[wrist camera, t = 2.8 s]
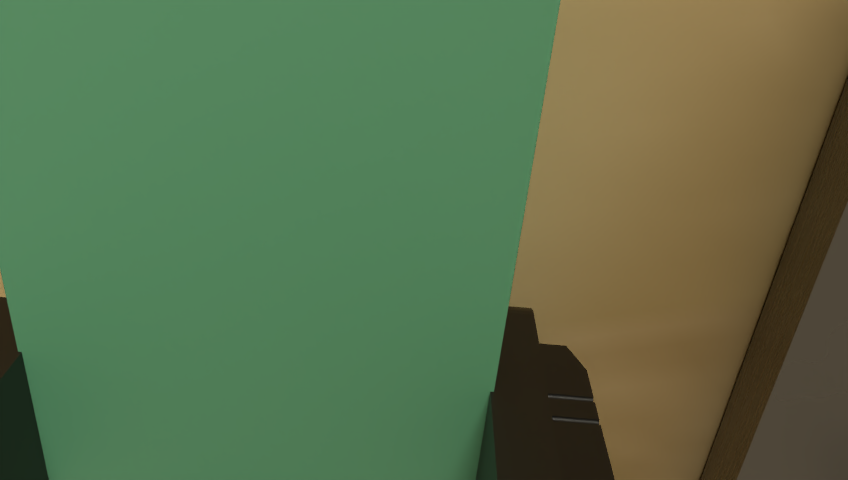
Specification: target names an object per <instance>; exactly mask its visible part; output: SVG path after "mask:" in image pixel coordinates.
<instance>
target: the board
mask: <svg viewBox="0 0 848 480" xmlns="http://www.w3.org/2000/svg"><path fill="white" fill-rule="evenodd" d="M559 6H560V0H0V270H1V275H2V280H3V284H4V289H5V293H6V298H7V303H8V307H9V312H10V317H11V321H12V326H13V330H14V335H15V340H16V344H17V349H18V352H22V356H23V360H24V365H25V370H26V374H27V379H28V384H29V388H30V393H31V398H32V403H33V407H34V412H35V417H36V421H37V426H38V431H39V435H40V440H41V445H42V449H43V454H44V459H45V463H46V468H47V473H48V478H49V480H476V474H477V468H478V462H479V456H480V450H481V444H482V438H483V432H484V426H485V420H486V414H487V408H488V402H489V396H490V392H494V388H495V382H496V376H497V371H498V365H499V359H500V353H501V347H502V341H503V335H504V329H505V323H506V318H507V312H508V306H509V300H510V294H511V288H512V282H513V276H514V270H515V265H516V259H517V253H518V247H519V241H520V235H521V229H522V223H523V218H524V212H525V206H526V200H527V194H528V188H529V182H530V176H531V170H532V165H533V159H534V153H535V147H536V141H537V135H538V129H539V123H540V117H541V112H542V106H543V100H544V94H545V88H546V82H547V76H548V70H549V64H550V59H551V53H552V47H553V41H554V35H555V29H556V23H557V17H558V11H559Z"/></svg>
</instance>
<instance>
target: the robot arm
mask: <svg viewBox="0 0 848 480" xmlns="http://www.w3.org/2000/svg"><path fill="white" fill-rule="evenodd" d="M0 480H49V478H48V473H47V468H46V463H45V459H44V454H43V449H42V445H41V440H40V435H39V431H38V426H37V421H36V417H35V412H34V407H33V403H32V398H31V393H30V388H29V384H28V379H27V374H26V370H25V365H24V360H23V356H22V352H18V349H17V344H16V340H15V335H14V330H13V326H12V321H11V317H10V312H9V307H8V303H7V298H5V297H0ZM476 480H614V476H613V472H612V468H611V464H610V460H609V456H608V452H607V448H606V445H605V441H604V437H603V433H602V429H601V425H599V417H598V413H597V409H596V405H595V403H594V402H593V394H592V390H591V386H590V382H589V378H588V374H587V370H586V369H585V368H584V367H583V365H582V364H581V363H580V362H579V361H578V359H577V358H576V357H575V356H574V355H573V353H572V352H571V351H570V350H569V349H568V348H567V346H561V345H549V344H539V341H538V335H537V330H536V324H535V319H534V313H533V310H532V309H531V308H521V307H509V306H508V312H507V318H506V323H505V329H504V335H503V341H502V347H501V353H500V359H499V365H498V371H497V376H496V382H495V388H494V392H490V396H489V402H488V408H487V414H486V420H485V426H484V432H483V438H482V444H481V450H480V456H479V462H478V468H477V474H476Z"/></svg>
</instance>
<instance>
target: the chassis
mask: <svg viewBox="0 0 848 480" xmlns="http://www.w3.org/2000/svg"><path fill="white" fill-rule="evenodd" d="M701 480H848V79H847V82H846V85H845V87H844V90H843V93H842V96H841V98H840V101H839V104H838V107H837V109H836V112H835V115H834V117H833V120H832V123H831V126H830V128H829V131H828V134H827V136H826V139H825V142H824V145H823V147H822V150H821V153H820V156H819V158H818V161H817V164H816V166H815V169H814V172H813V175H812V177H811V180H810V183H809V186H808V188H807V191H806V194H805V196H804V199H803V202H802V205H801V207H800V210H799V213H798V215H797V218H796V221H795V224H794V226H793V229H792V232H791V235H790V237H789V240H788V243H787V245H786V248H785V251H784V254H783V256H782V259H781V262H780V265H779V267H778V270H777V273H776V275H775V278H774V281H773V284H772V286H771V289H770V292H769V294H768V297H767V300H766V303H765V305H764V308H763V311H762V314H761V316H760V319H759V322H758V324H757V327H756V330H755V333H754V335H753V338H752V341H751V343H750V346H749V349H748V352H747V354H746V357H745V360H744V363H743V365H742V368H741V371H740V373H739V376H738V379H737V382H736V384H735V387H734V390H733V393H732V395H731V398H730V401H729V403H728V406H727V409H726V412H725V414H724V417H723V420H722V422H721V425H720V428H719V431H718V433H717V436H716V439H715V442H714V444H713V447H712V450H711V452H710V455H709V458H708V461H707V463H706V466H705V469H704V472H703V474H702V477H701Z"/></svg>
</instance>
